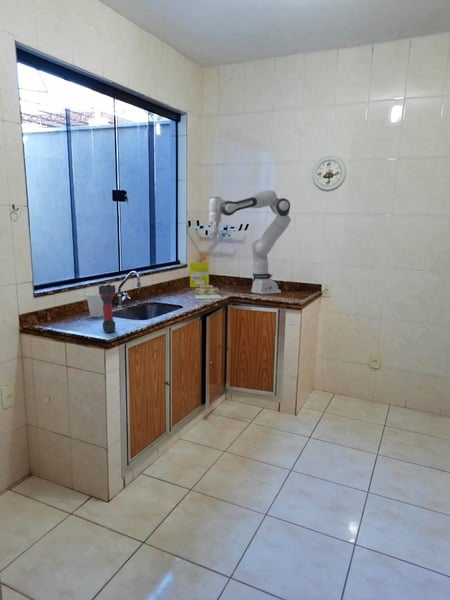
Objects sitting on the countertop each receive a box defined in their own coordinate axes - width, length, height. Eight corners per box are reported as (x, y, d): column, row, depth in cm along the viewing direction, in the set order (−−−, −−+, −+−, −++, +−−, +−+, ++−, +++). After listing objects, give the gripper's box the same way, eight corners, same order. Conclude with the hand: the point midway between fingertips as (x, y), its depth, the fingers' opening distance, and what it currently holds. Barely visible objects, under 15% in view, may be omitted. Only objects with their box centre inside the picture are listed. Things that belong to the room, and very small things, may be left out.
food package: (208, 287, 334) (208, 262, 330) (208, 287, 333) (208, 262, 329) (190, 286, 336) (189, 262, 332) (190, 287, 335) (189, 262, 331)
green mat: (219, 295, 297) (219, 294, 297) (222, 298, 285) (222, 298, 285) (195, 295, 295) (195, 295, 295) (196, 299, 282) (196, 298, 282)
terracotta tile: (212, 287, 305) (212, 285, 305) (213, 289, 300) (213, 286, 299) (200, 288, 304) (200, 285, 304) (200, 289, 298) (200, 286, 298)
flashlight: (110, 335, 195) (108, 287, 191) (97, 333, 198) (94, 286, 194) (121, 331, 202) (118, 284, 197) (108, 329, 205) (106, 283, 201)
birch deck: (216, 292, 308) (216, 287, 307) (218, 295, 298) (218, 289, 297) (195, 293, 305) (195, 288, 305) (196, 295, 296) (196, 290, 295)
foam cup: (86, 315, 234) (84, 293, 232) (102, 314, 239) (101, 291, 236) (90, 319, 226) (88, 296, 224) (106, 317, 231) (105, 294, 228)
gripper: (220, 219, 288) (220, 239, 291) (217, 219, 308) (217, 238, 311) (212, 219, 287) (211, 239, 290) (209, 219, 307) (209, 238, 310)
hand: (214, 239), depth 300 cm, fingers open, 8 cm apart
